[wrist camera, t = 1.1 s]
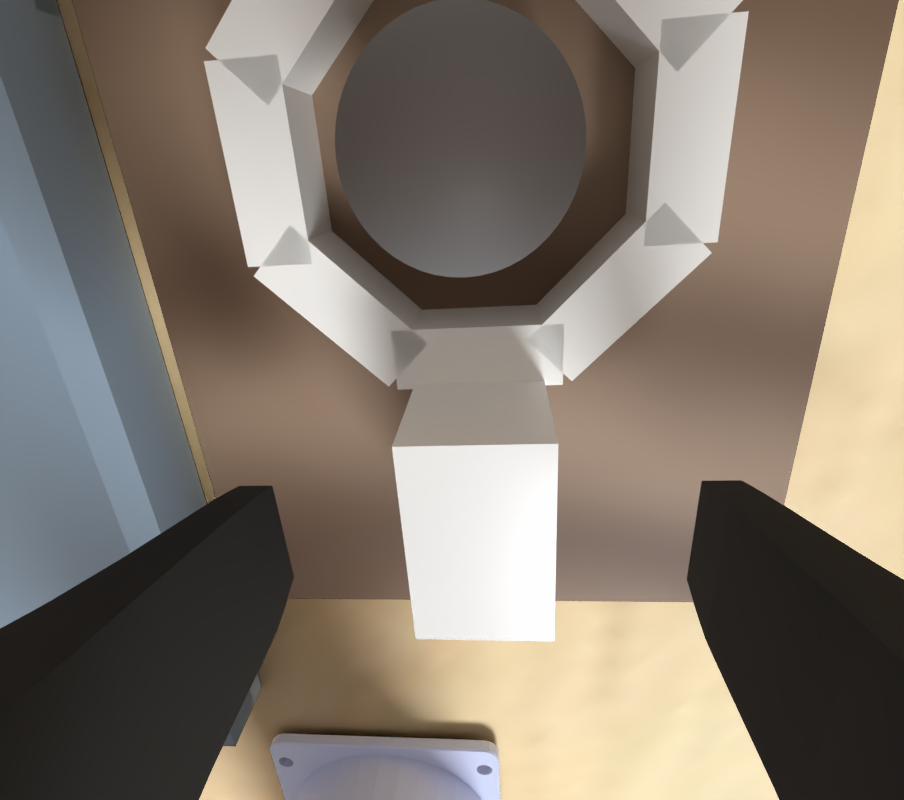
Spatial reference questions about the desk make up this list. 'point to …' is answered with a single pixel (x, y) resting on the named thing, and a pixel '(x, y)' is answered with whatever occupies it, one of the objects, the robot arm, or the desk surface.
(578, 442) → the stake board
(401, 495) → the ring
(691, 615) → the desk surface
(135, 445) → the tray
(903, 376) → the desk surface
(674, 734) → the desk surface
